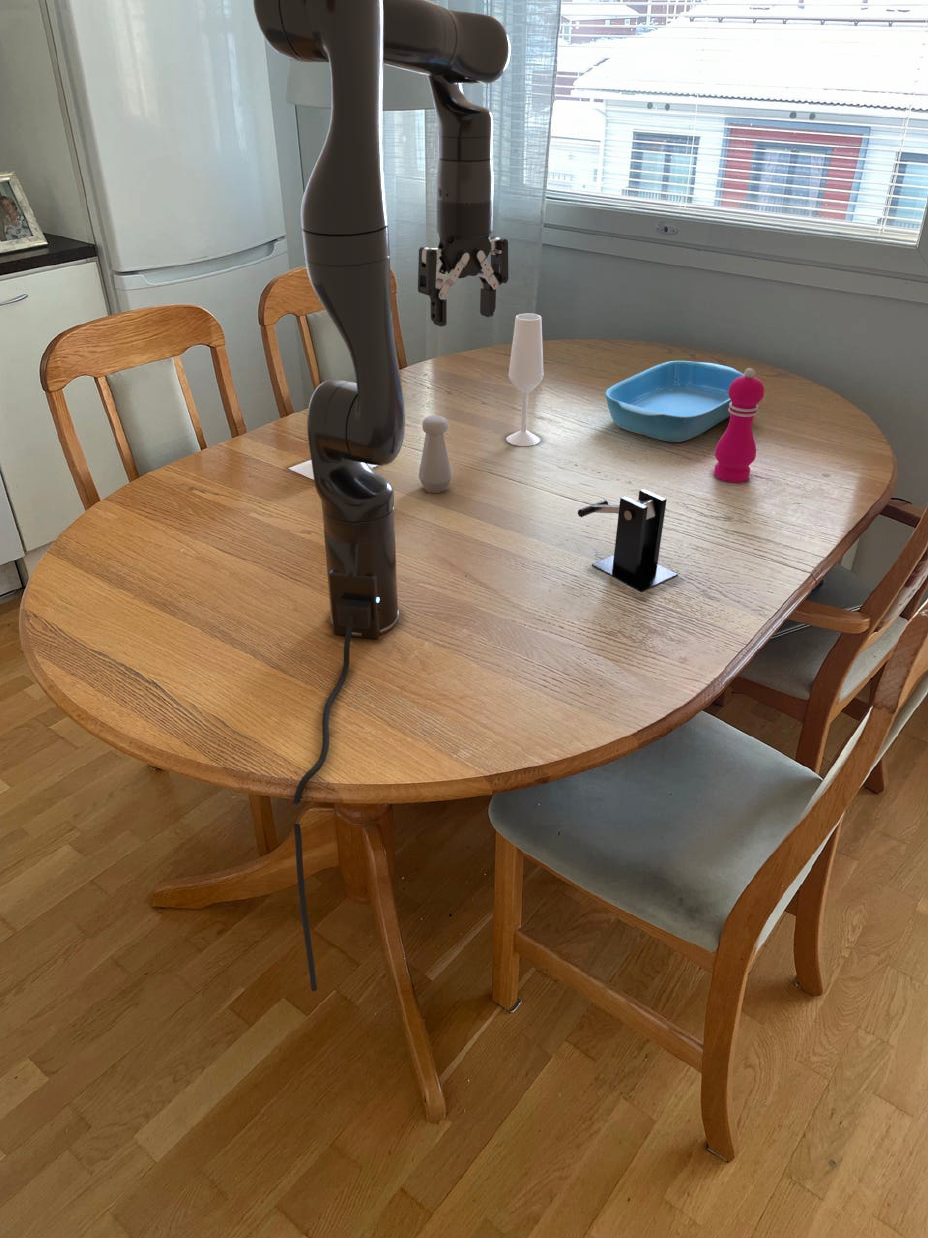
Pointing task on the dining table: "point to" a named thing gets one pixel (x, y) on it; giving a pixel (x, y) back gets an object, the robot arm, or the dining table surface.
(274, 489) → the dining table surface
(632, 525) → the black lever stand
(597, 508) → the lever with crossbar handle
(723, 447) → the pepper mill
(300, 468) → the napkin holder
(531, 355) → the champagne flute
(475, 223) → the robot arm
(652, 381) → the casserole dish
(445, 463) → the salt shaker
